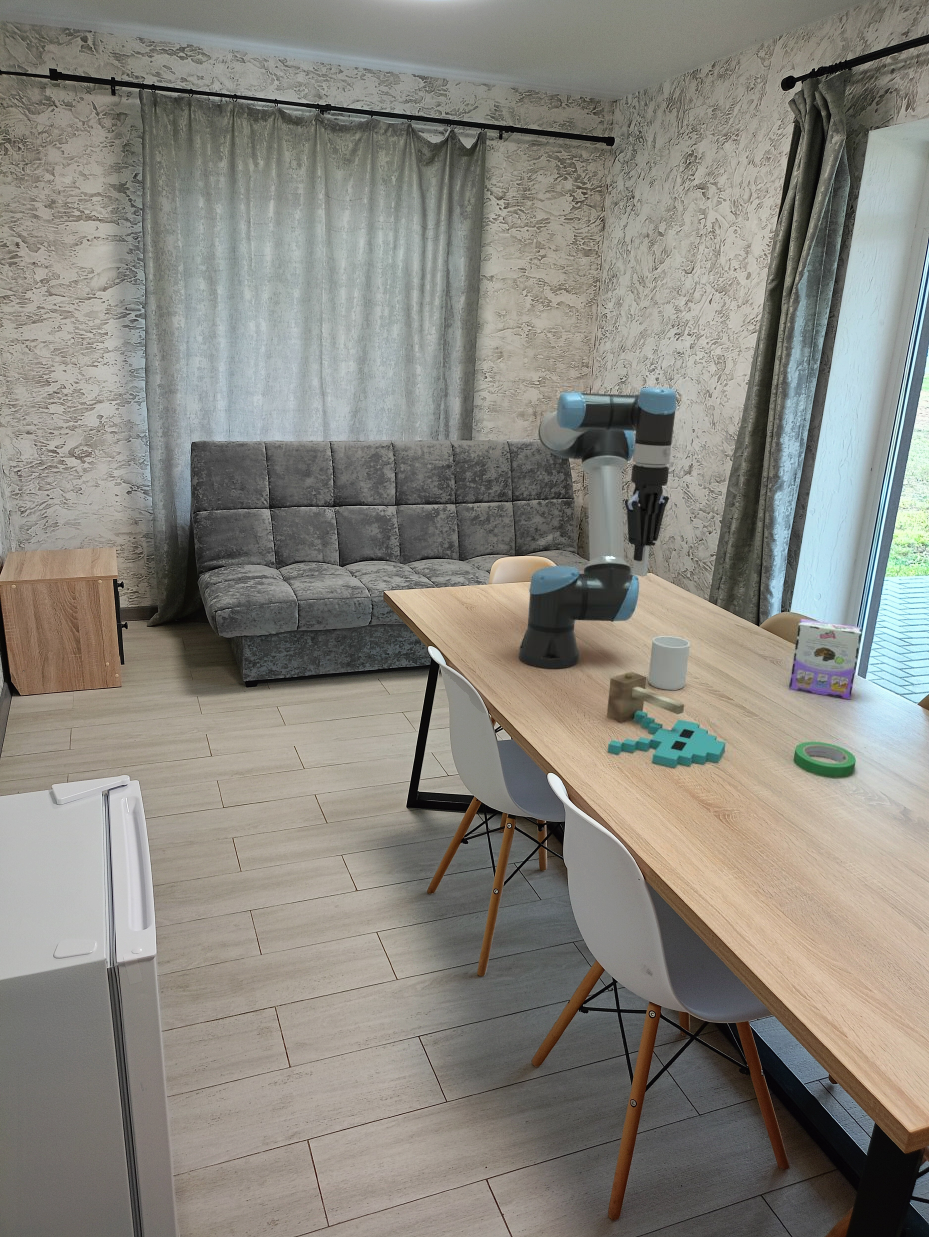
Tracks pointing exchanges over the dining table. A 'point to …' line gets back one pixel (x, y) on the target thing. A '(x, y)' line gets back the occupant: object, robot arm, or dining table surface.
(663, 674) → the mug
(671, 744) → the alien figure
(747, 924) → the dining table surface
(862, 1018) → the dining table surface
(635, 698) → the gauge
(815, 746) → the tape roll
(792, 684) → the candy box
